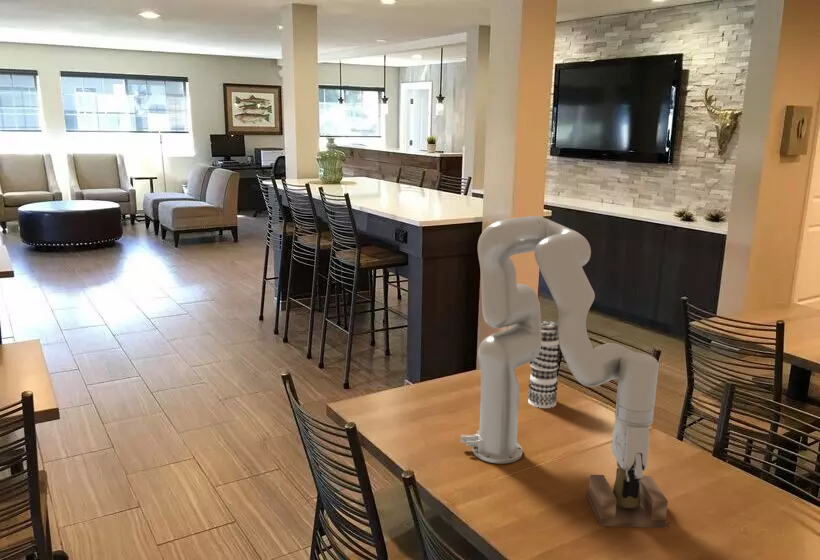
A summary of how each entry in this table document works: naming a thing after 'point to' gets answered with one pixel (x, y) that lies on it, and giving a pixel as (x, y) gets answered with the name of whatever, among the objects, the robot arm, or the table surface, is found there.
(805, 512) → the table surface
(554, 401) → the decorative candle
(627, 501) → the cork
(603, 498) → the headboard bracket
